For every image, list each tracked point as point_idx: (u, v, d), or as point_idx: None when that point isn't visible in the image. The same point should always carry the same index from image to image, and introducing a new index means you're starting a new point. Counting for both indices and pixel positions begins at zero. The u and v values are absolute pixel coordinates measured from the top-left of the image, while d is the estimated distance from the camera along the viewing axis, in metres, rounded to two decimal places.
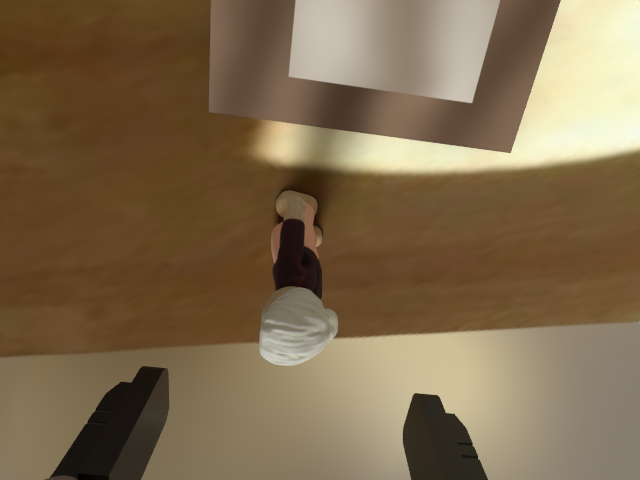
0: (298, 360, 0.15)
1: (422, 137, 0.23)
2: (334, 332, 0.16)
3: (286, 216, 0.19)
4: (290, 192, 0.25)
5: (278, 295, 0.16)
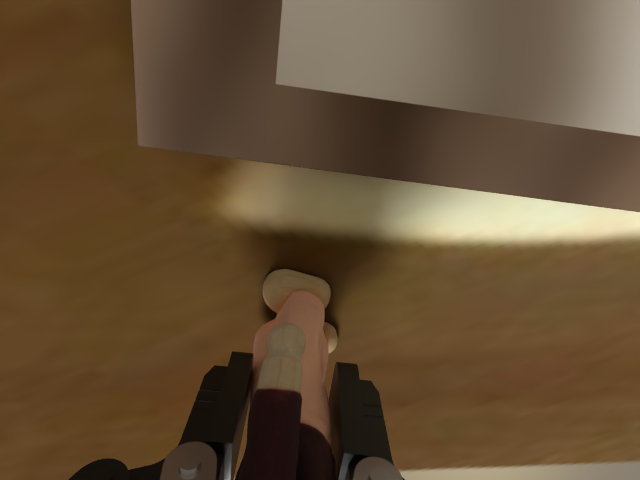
0: None
1: (520, 190, 0.13)
2: None
3: (263, 377, 0.09)
4: (285, 273, 0.15)
5: None
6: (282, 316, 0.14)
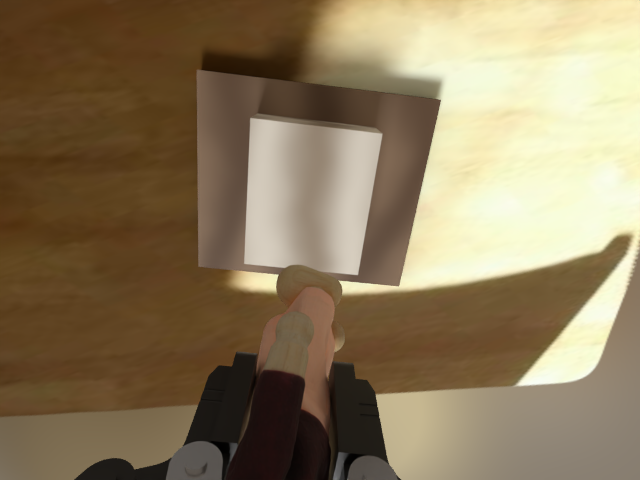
0: None
1: (339, 278, 0.35)
2: None
3: (270, 359, 0.09)
4: (300, 268, 0.15)
5: None
6: (293, 309, 0.14)
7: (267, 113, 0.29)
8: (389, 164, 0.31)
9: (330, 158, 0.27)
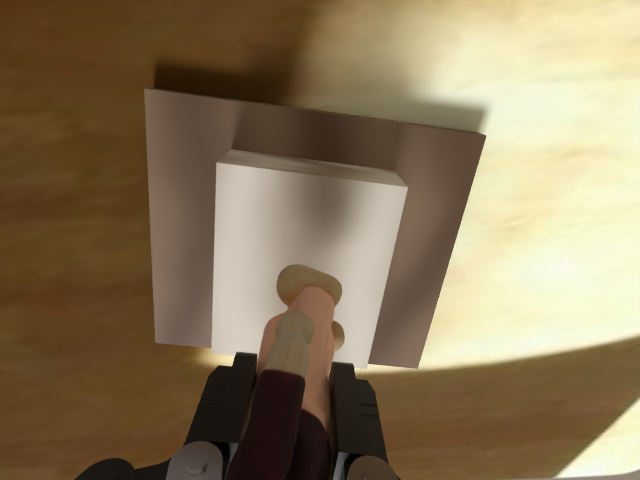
0: None
1: None
2: None
3: (270, 359, 0.09)
4: (300, 268, 0.15)
5: None
6: (293, 309, 0.14)
7: (245, 149, 0.21)
8: (411, 219, 0.22)
9: (332, 220, 0.19)
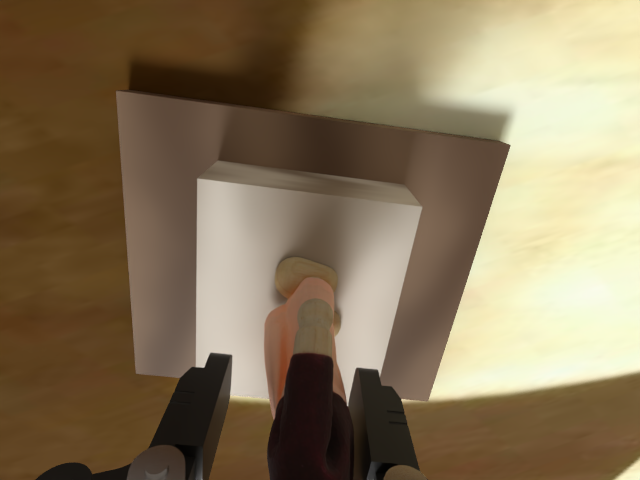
0: None
1: None
2: None
3: (299, 344, 0.10)
4: (298, 260, 0.16)
5: None
6: (296, 299, 0.15)
7: (233, 160, 0.18)
8: (423, 238, 0.20)
9: (333, 244, 0.16)
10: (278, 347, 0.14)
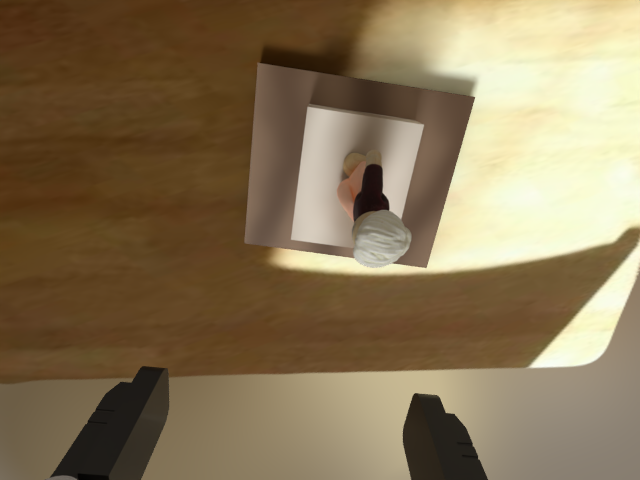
0: (383, 261, 0.20)
1: None
2: (408, 246, 0.21)
3: (368, 162, 0.24)
4: (357, 154, 0.30)
5: (368, 214, 0.21)
6: (357, 171, 0.29)
7: (318, 104, 0.32)
8: (424, 154, 0.34)
9: (375, 146, 0.30)
10: (349, 189, 0.28)
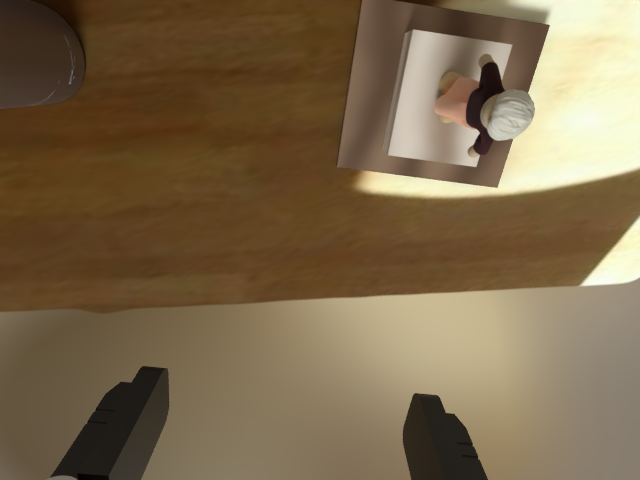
0: (516, 128, 0.25)
1: (449, 179, 0.42)
2: (531, 120, 0.26)
3: (485, 62, 0.29)
4: (453, 72, 0.35)
5: (498, 94, 0.26)
6: (456, 84, 0.34)
7: None
8: (503, 79, 0.38)
9: (469, 65, 0.35)
10: (453, 98, 0.33)
